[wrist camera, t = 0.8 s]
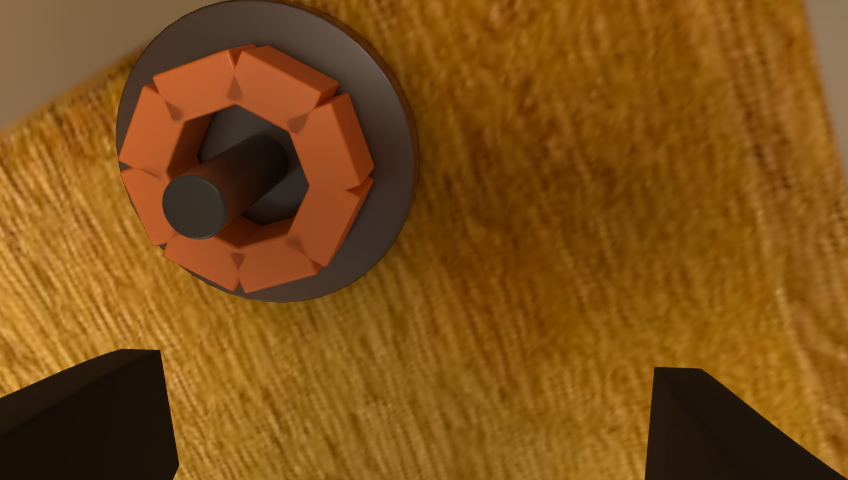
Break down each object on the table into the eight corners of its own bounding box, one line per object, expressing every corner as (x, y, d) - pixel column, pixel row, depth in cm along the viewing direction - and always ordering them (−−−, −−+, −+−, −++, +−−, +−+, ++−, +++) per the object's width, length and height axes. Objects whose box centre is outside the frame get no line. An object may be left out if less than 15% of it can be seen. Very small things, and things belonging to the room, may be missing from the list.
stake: (344, 337, 21) (294, 439, 16) (94, 211, 20) (-31, 277, 16) (473, 91, 18) (457, 127, 13) (187, -61, 18) (68, -79, 13)
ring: (316, 297, 20) (297, 326, 18) (131, 203, 19) (94, 223, 18) (405, 116, 18) (393, 129, 16) (201, 9, 17) (167, 11, 16)
